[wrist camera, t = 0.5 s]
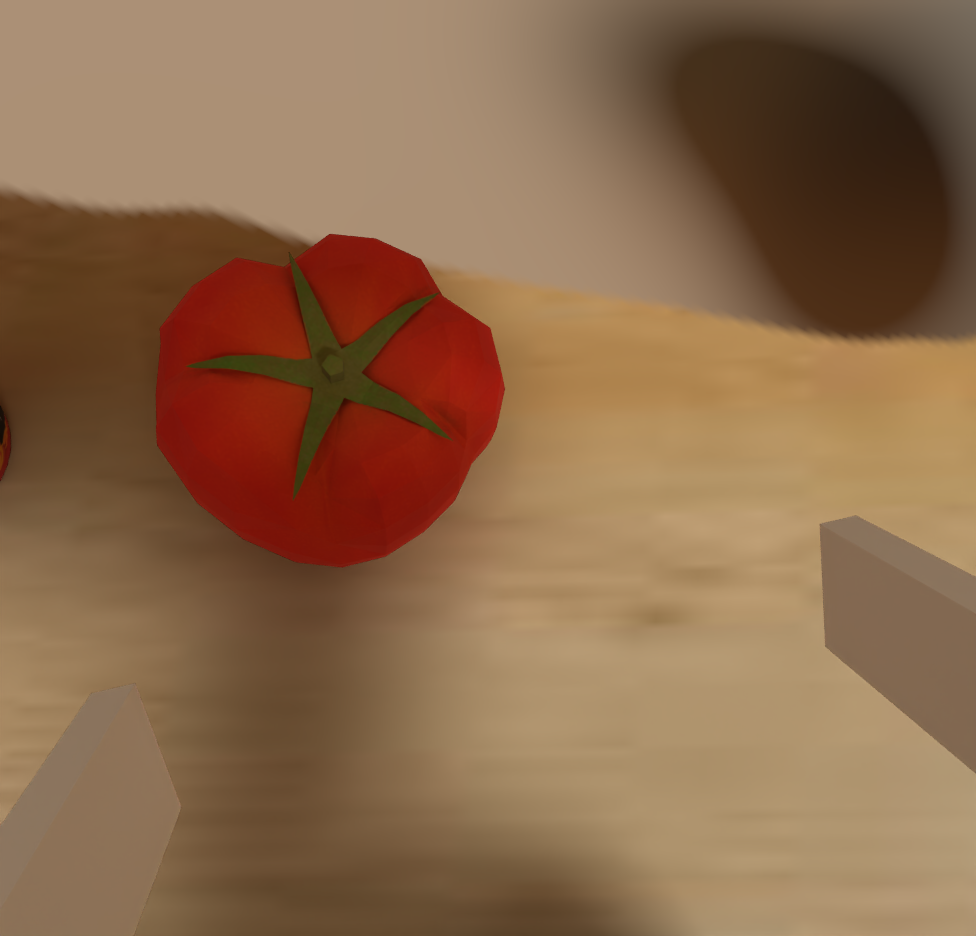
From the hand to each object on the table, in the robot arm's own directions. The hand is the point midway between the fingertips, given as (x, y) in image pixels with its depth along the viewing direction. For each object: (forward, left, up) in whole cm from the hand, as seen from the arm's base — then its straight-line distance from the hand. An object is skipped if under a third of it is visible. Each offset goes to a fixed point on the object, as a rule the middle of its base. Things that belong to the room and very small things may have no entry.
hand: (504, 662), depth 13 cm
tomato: (+9, +5, -20) cm, 23 cm away
